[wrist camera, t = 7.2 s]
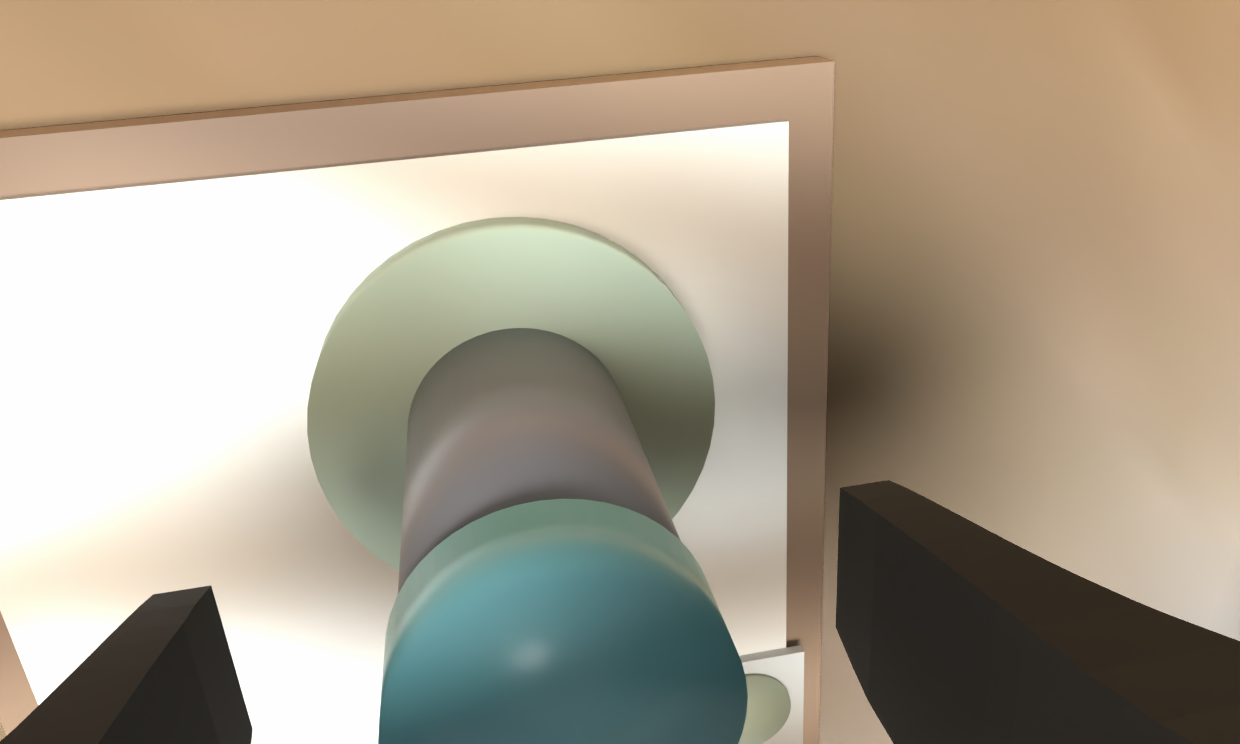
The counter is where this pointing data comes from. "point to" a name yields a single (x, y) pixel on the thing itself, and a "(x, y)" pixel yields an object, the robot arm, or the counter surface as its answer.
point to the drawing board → (402, 357)
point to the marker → (545, 567)
